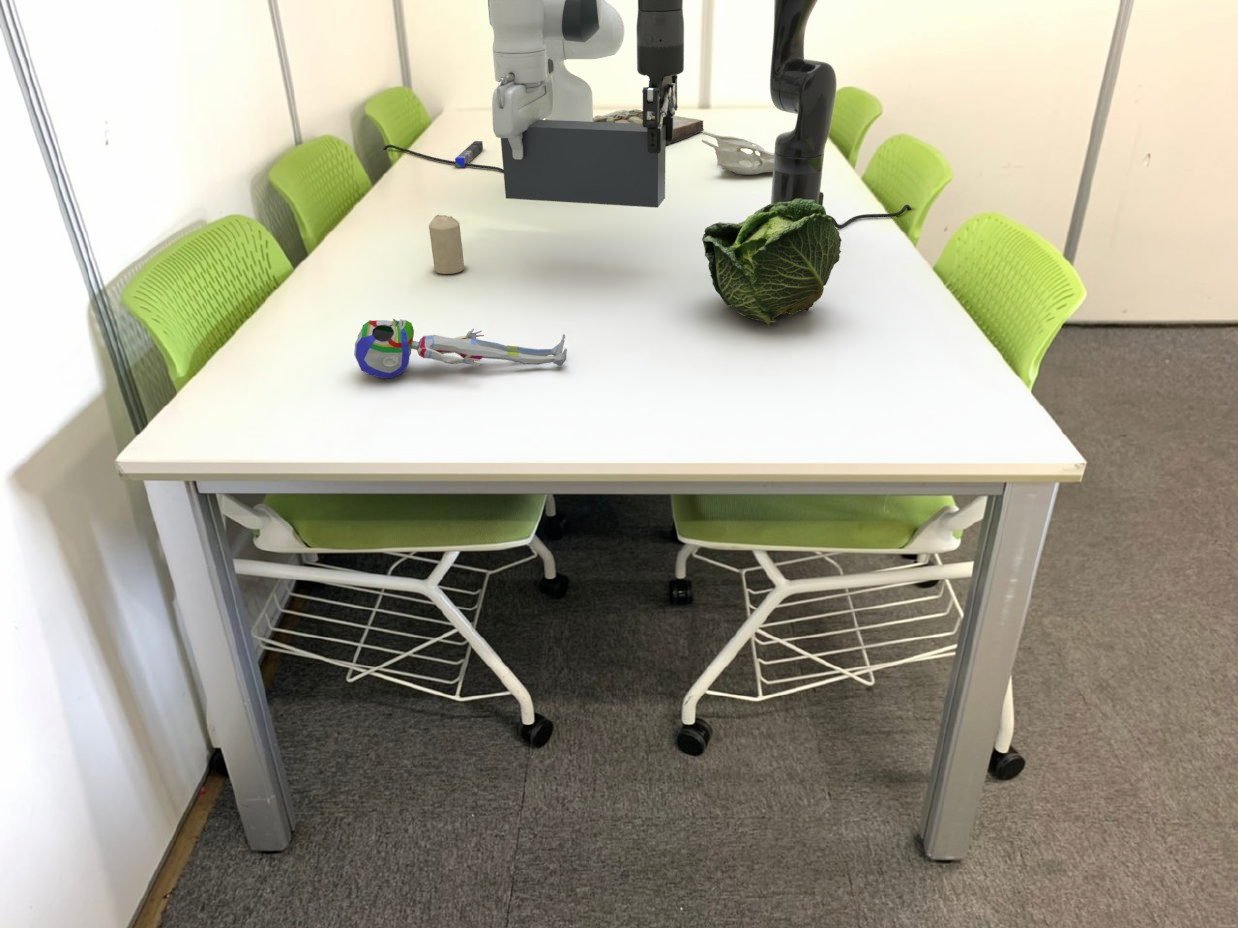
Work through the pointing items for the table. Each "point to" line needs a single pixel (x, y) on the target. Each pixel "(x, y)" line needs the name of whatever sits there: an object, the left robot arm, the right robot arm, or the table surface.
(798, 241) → the vegetable
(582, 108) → the left robot arm
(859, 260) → the table surface
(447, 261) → the candle
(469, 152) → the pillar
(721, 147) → the anatomical model
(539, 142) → the box
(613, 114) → the plaque
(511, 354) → the toy
